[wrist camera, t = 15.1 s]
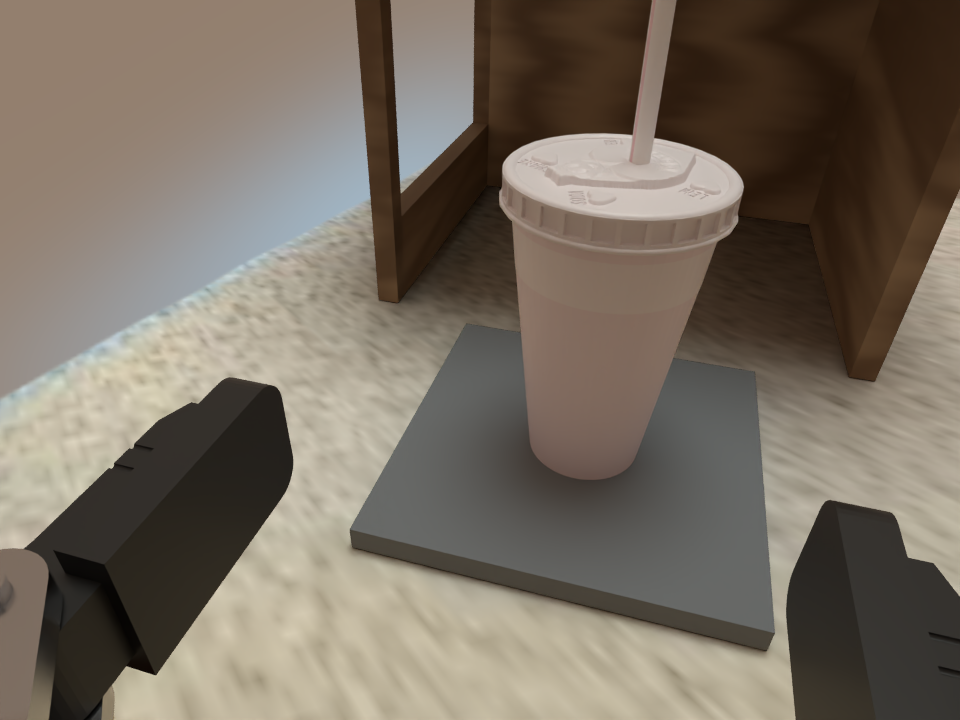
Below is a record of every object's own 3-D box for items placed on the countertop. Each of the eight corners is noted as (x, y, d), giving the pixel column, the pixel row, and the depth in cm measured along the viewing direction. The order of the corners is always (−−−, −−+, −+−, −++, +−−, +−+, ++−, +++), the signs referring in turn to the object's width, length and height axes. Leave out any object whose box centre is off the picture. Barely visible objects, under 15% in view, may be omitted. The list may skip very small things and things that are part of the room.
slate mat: (750, 387, 28) (755, 371, 27) (766, 650, 18) (775, 633, 18) (466, 338, 30) (466, 323, 30) (351, 547, 21) (349, 529, 20)
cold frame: (832, 217, 42) (974, -205, 30) (890, 390, 28) (1199, -280, 16) (471, 175, 47) (475, -203, 35) (364, 303, 33) (312, -259, 21)
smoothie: (717, 480, 22) (863, -3, 14) (540, 536, 20) (592, 10, 12) (614, 371, 27) (680, -36, 19) (463, 407, 25) (464, -30, 17)
